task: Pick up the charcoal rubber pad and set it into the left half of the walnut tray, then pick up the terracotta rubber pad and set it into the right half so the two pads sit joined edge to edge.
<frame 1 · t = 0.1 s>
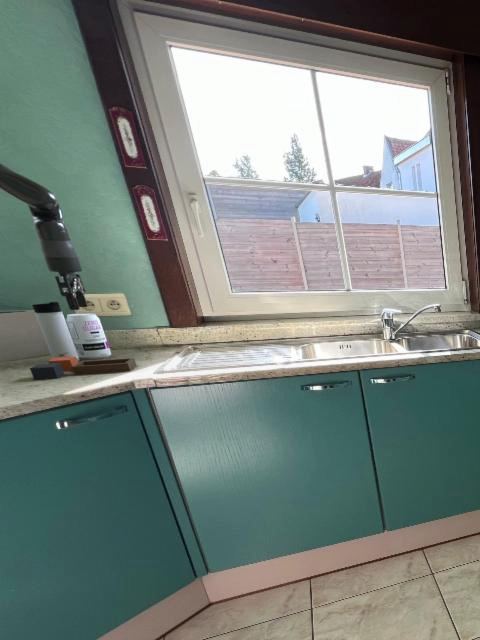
hand: (79, 308, 161), 18 cm above the worktop, tool pointing down, fingers open, 8 cm apart
travel mug: (68, 362, 169), on the worktop
tray: (106, 370, 160), on the worktop
pad b: (66, 369, 159), on the worktop
pad a: (49, 376, 150), on the worktop
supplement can: (96, 357, 176), on the worktop
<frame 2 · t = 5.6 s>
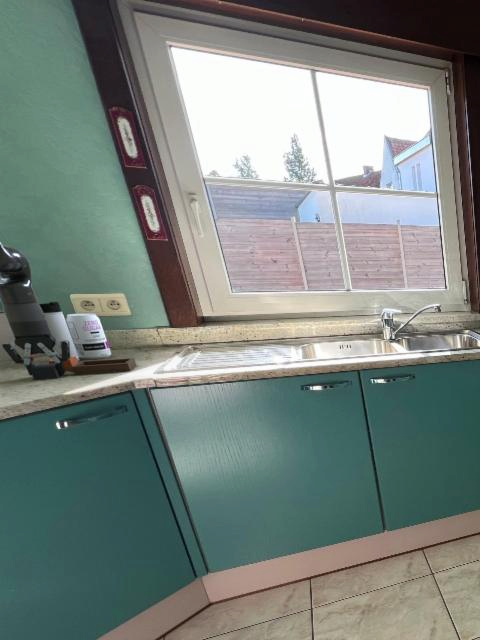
hand: (49, 375, 150), 0 cm above the worktop, tool pointing down, fingers closed on pad a, 5 cm apart
pad a: (49, 376, 150), on the worktop, touching gripper
everything else where it was.
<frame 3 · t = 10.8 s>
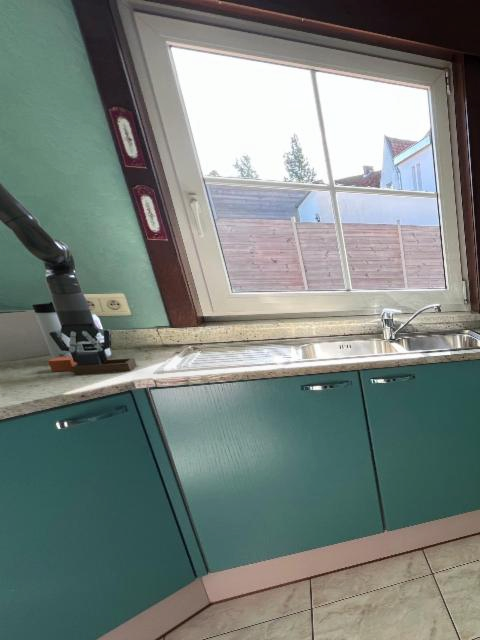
hand: (92, 362, 157), 3 cm above the worktop, tool pointing down, fingers closed on pad a, 5 cm apart
pad a: (92, 364, 157), point 2 cm above the worktop, touching gripper
everything else where it was.
when the fingers open (3 cm above the worktop, at t = 16.2 s): pad a drops 1 cm, resting on tray.
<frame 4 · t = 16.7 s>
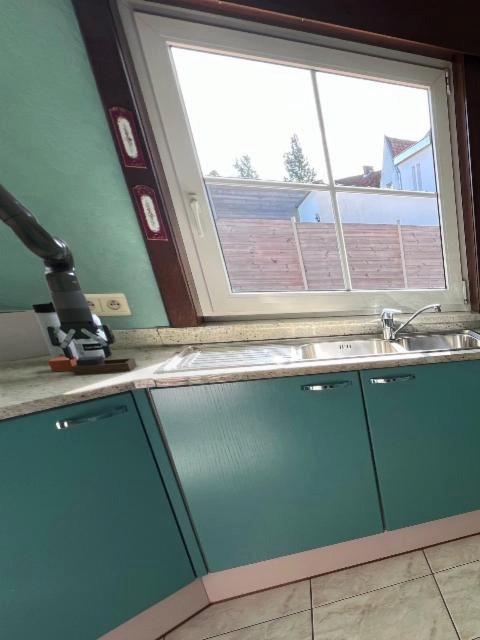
hand: (90, 358, 157), 4 cm above the worktop, tool pointing down, fingers open, 8 cm apart
pad a: (93, 369, 158), point 1 cm above the worktop, touching tray
everything else where it was.
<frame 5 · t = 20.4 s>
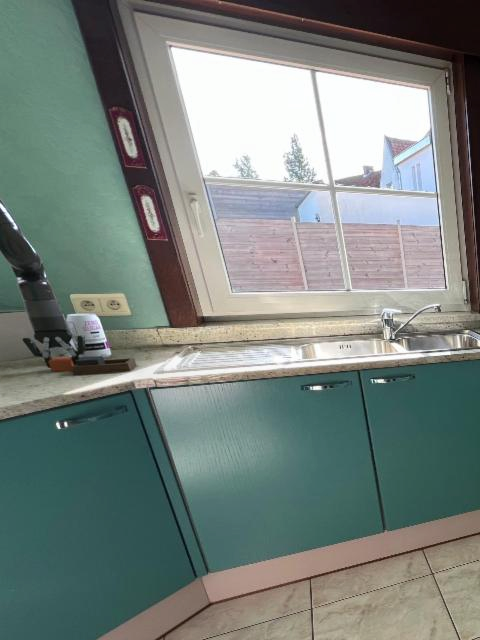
hand: (65, 368, 159), 0 cm above the worktop, tool pointing down, fingers closed on pad b, 5 cm apart
pad b: (66, 369, 159), on the worktop, touching gripper
everything else where it was.
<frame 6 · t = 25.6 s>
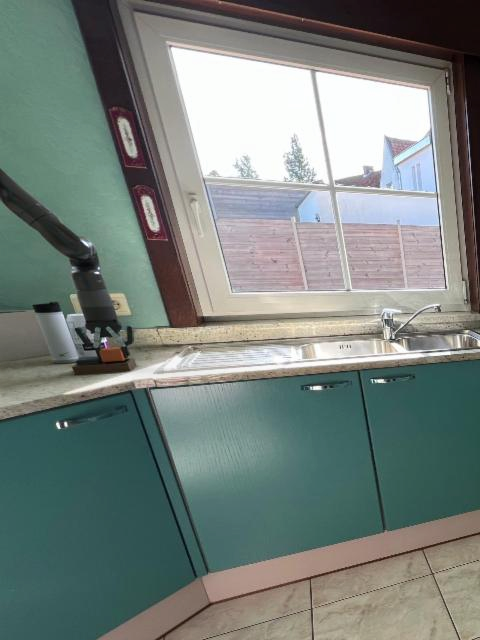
hand: (115, 358, 160), 4 cm above the worktop, tool pointing down, fingers closed on pad b, 5 cm apart
pad b: (115, 359, 160), point 3 cm above the worktop, touching gripper
pad a: (93, 369, 158), point 1 cm above the worktop, touching gripper, tray
everything else where it was.
when the fingers open (4 cm above the worktop, at t = 27.6 s): pad b drops 3 cm, resting on tray.
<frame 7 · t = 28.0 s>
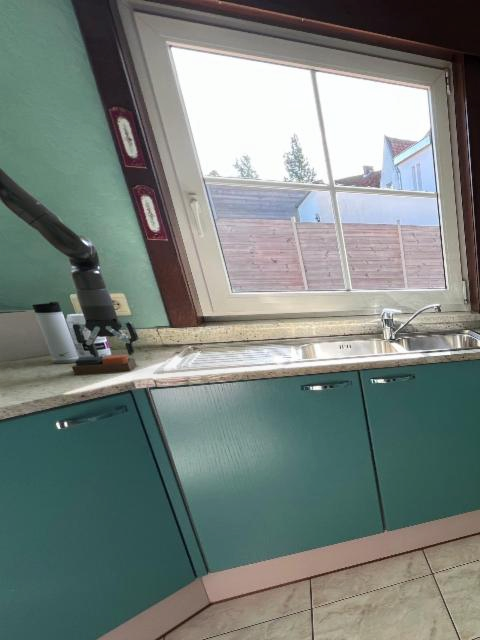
hand: (114, 355, 160), 5 cm above the worktop, tool pointing down, fingers open, 8 cm apart
pad b: (117, 367, 161), point 1 cm above the worktop, touching tray
pad a: (92, 369, 158), point 1 cm above the worktop, touching tray
everything else where it was.
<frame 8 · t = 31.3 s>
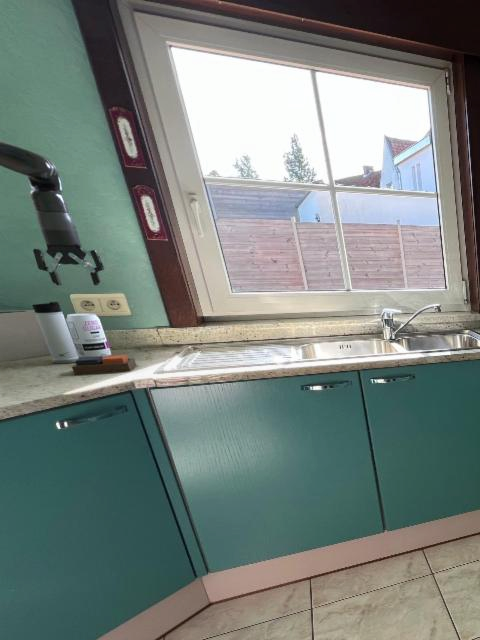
hand: (78, 285, 154), 26 cm above the worktop, tool pointing down, fingers open, 8 cm apart
nothing on the worktop moved.
at the end: pad a inside the target area in the tray (3.2 cm from its centre), point 0.6 cm above the tray's base; pad b inside the target area in the tray (2.8 cm from its centre), point 0.6 cm above the tray's base; pad b 6.0 cm from the pad a (horizontally) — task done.
